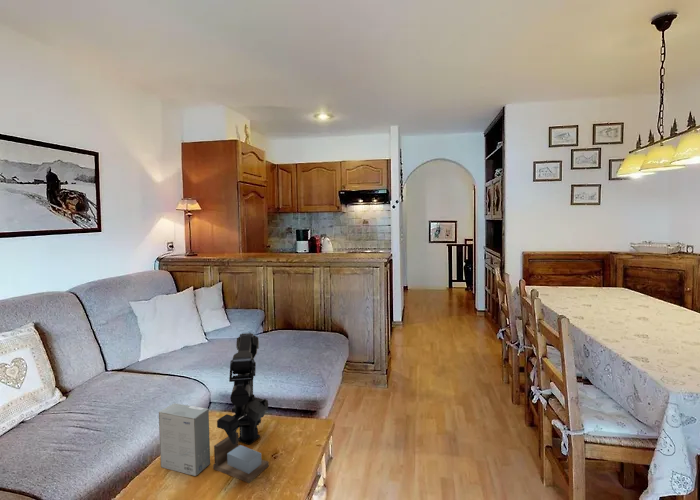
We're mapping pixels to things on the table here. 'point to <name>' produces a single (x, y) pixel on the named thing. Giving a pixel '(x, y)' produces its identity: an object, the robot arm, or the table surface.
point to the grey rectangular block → (244, 459)
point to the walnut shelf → (221, 465)
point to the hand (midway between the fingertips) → (243, 437)
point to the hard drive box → (184, 438)
